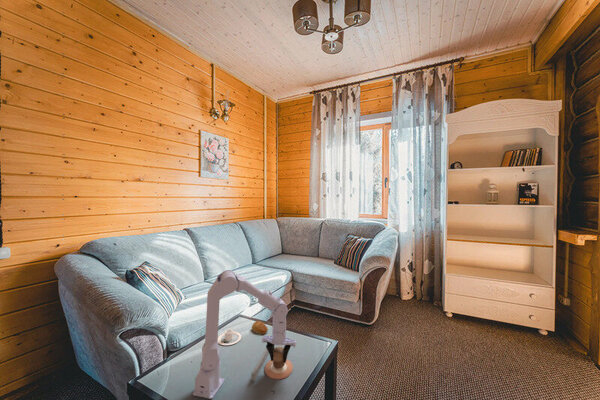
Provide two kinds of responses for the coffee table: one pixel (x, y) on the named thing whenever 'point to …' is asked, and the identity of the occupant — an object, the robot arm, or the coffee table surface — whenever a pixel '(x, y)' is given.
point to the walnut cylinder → (278, 357)
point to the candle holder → (229, 337)
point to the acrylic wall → (259, 364)
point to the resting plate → (278, 370)
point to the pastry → (259, 327)
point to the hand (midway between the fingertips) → (278, 360)
